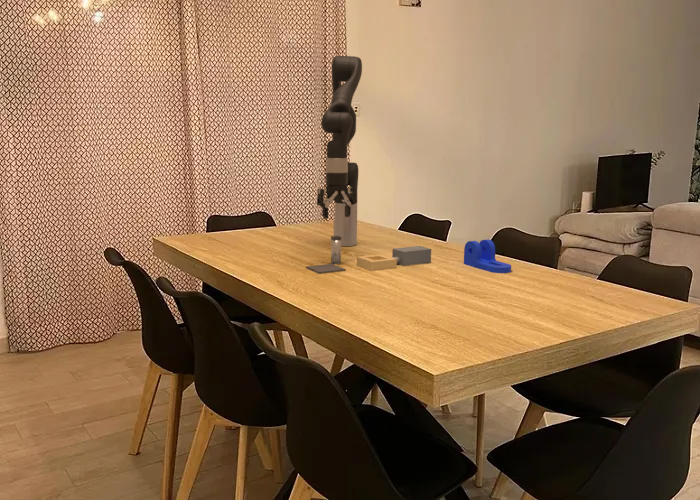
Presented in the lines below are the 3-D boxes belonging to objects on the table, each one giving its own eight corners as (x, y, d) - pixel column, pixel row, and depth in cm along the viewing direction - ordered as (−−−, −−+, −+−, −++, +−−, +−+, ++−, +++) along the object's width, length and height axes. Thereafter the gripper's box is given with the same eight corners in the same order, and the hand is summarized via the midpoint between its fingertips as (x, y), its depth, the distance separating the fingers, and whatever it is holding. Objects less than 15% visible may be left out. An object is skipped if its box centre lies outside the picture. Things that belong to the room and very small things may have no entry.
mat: (305, 268, 241) (305, 266, 241) (331, 265, 246) (331, 263, 246) (319, 273, 232) (319, 272, 232) (345, 270, 237) (345, 269, 237)
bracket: (463, 264, 251) (464, 239, 249) (481, 262, 255) (483, 238, 253) (497, 274, 235) (498, 248, 234) (516, 272, 239) (517, 246, 238)
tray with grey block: (371, 270, 238) (372, 256, 237) (356, 265, 246) (356, 251, 246) (433, 263, 251) (433, 249, 250) (416, 258, 260) (417, 245, 259)
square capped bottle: (329, 263, 250) (329, 236, 248) (337, 262, 251) (337, 235, 250) (334, 264, 247) (334, 237, 245) (342, 263, 248) (342, 236, 247)
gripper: (349, 169, 250) (348, 215, 253) (313, 170, 243) (313, 217, 246) (360, 171, 243) (359, 217, 246) (323, 172, 236) (323, 220, 239)
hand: (336, 217), depth 246 cm, fingers open, 8 cm apart
